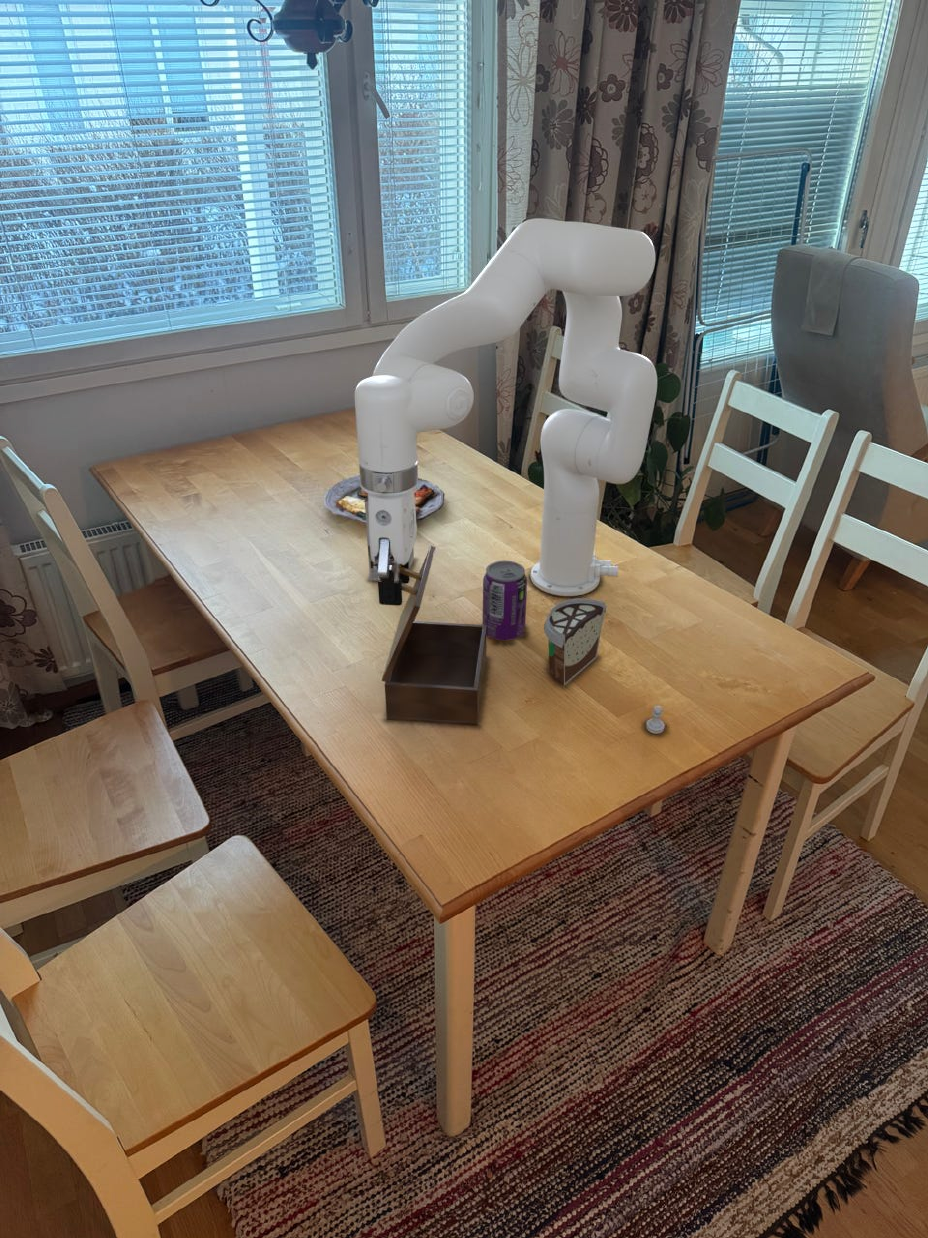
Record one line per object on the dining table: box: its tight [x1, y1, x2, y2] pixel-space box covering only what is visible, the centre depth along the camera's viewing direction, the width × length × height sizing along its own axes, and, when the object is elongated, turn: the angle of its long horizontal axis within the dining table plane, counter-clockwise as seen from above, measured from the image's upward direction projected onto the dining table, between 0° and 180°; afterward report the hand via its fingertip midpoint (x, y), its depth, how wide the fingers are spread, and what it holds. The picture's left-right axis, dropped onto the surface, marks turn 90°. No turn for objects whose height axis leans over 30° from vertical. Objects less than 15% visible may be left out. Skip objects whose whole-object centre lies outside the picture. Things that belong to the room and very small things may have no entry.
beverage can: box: [481, 560, 528, 641], centre depth 139 cm, size 7×7×12 cm
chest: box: [383, 620, 488, 727], centre depth 128 cm, size 13×16×7 cm
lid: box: [381, 545, 436, 683], centre depth 122 cm, size 14×16×6 cm
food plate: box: [323, 474, 445, 524], centre depth 180 cm, size 25×23×4 cm
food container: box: [543, 598, 607, 687], centre depth 132 cm, size 12×6×10 cm, turn 141°
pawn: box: [645, 705, 666, 735], centre depth 121 cm, size 3×3×4 cm
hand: (394, 591), depth 121 cm, fingers closed on lid, 5 cm apart
